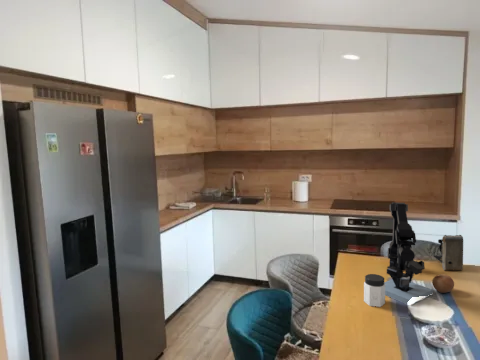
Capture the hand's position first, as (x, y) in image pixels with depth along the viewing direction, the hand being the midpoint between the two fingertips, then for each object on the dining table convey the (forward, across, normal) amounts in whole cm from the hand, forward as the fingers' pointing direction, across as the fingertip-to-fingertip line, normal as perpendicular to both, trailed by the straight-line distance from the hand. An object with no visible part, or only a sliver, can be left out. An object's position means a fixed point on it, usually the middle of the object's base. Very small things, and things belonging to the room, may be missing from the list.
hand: (403, 285), depth 161 cm
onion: (+4, +16, -10) cm, 19 cm away
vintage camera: (+4, +49, +5) cm, 49 cm away
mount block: (+4, 0, 0) cm, 4 cm away
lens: (+4, 0, 0) cm, 4 cm away
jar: (+4, -19, +2) cm, 20 cm away
